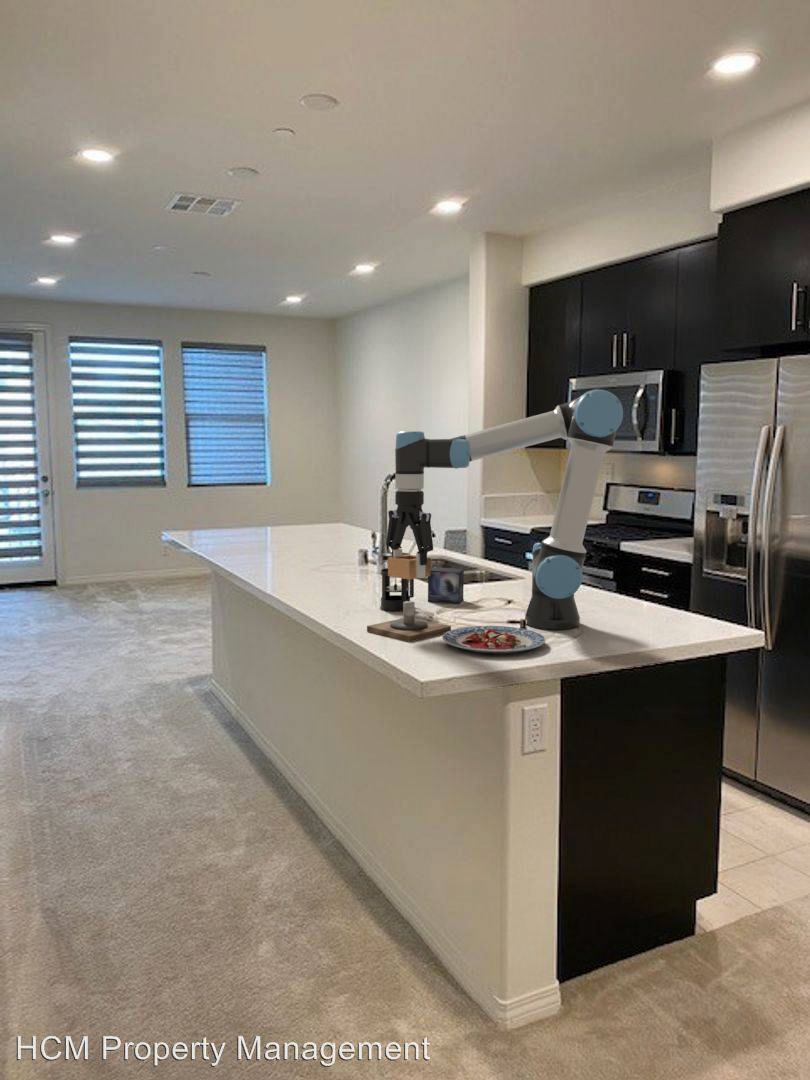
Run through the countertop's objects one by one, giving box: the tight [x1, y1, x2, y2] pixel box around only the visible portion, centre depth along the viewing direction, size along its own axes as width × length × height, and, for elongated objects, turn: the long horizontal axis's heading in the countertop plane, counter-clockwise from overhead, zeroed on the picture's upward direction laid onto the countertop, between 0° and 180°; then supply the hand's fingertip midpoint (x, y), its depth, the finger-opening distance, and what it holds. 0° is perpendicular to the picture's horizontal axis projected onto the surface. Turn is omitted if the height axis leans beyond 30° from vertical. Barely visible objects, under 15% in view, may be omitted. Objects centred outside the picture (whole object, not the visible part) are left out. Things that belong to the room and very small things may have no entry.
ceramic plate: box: [442, 625, 546, 655], centre depth 203 cm, size 26×26×3 cm
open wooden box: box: [387, 554, 431, 581], centre depth 215 cm, size 8×8×5 cm
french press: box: [379, 551, 415, 613], centre depth 246 cm, size 12×9×23 cm
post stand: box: [366, 600, 452, 643], centre depth 216 cm, size 16×16×8 cm
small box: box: [427, 566, 465, 605], centre depth 258 cm, size 11×6×10 cm, turn 71°
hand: (409, 575), depth 215 cm, fingers closed on open wooden box, 8 cm apart
